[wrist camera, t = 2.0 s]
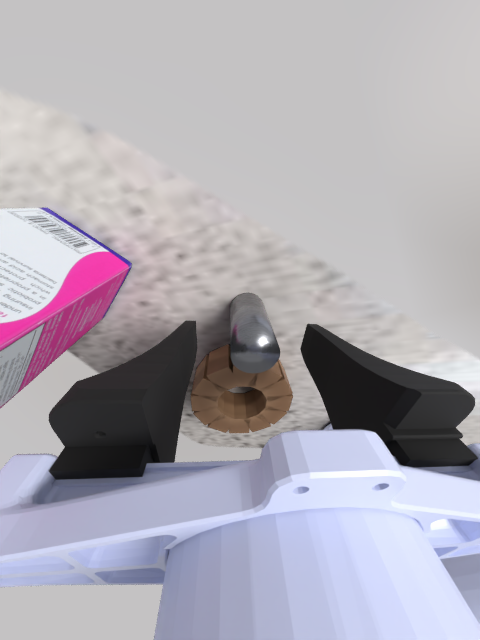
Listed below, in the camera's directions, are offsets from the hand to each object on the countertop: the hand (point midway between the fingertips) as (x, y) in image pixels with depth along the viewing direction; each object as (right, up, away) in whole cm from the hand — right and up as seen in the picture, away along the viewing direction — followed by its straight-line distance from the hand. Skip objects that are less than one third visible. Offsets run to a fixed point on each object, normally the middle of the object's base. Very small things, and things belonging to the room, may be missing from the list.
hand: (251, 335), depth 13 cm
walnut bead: (-1, -5, +8) cm, 9 cm away
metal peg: (0, +2, +4) cm, 4 cm away
